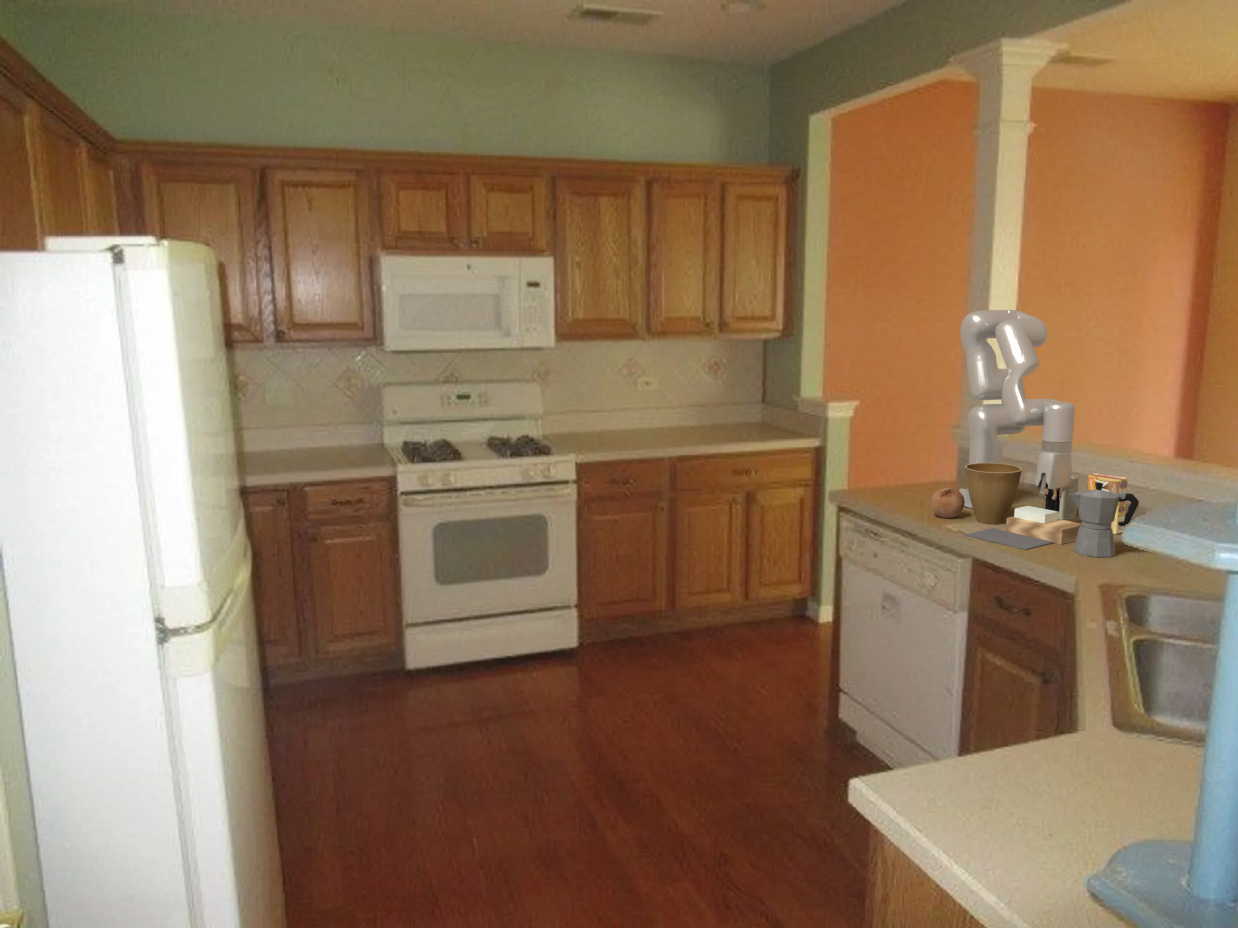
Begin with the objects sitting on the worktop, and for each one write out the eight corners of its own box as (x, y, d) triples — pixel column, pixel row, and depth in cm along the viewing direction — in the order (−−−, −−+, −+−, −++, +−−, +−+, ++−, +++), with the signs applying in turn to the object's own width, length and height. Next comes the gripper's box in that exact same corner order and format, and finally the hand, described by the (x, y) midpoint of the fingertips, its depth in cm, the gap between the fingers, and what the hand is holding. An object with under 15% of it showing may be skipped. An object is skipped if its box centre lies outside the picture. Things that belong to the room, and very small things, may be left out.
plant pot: (957, 515, 263) (960, 462, 261) (1010, 516, 261) (1014, 463, 258) (968, 527, 249) (971, 471, 246) (1024, 528, 246) (1028, 472, 244)
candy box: (1124, 532, 241) (1128, 477, 238) (1115, 535, 238) (1120, 479, 236) (1091, 526, 248) (1096, 472, 245) (1083, 528, 246) (1087, 474, 243)
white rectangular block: (1014, 517, 243) (1014, 508, 243) (1027, 514, 246) (1028, 505, 246) (1044, 523, 236) (1045, 514, 235) (1057, 520, 239) (1058, 511, 238)
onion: (948, 529, 258) (949, 503, 253) (923, 515, 265) (923, 489, 260) (971, 515, 262) (972, 488, 256) (945, 501, 269) (946, 475, 263)
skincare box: (1063, 515, 262) (1066, 474, 259) (1076, 518, 258) (1079, 477, 256) (1048, 517, 259) (1051, 476, 257) (1062, 520, 255) (1065, 479, 253)
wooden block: (1006, 532, 243) (1006, 517, 242) (1028, 527, 248) (1029, 513, 247) (1061, 544, 229) (1062, 529, 229) (1083, 538, 235) (1084, 524, 234)
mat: (965, 535, 240) (965, 534, 240) (993, 529, 246) (993, 528, 246) (1025, 550, 225) (1025, 548, 225) (1053, 542, 231) (1053, 541, 231)
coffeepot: (1066, 555, 219) (1072, 484, 216) (1062, 546, 228) (1067, 477, 225) (1137, 560, 214) (1144, 488, 211) (1130, 550, 223) (1136, 480, 220)
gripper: (1059, 443, 248) (1055, 506, 252) (1027, 448, 241) (1023, 513, 244) (1085, 446, 242) (1080, 511, 245) (1053, 451, 234) (1048, 519, 237)
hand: (1051, 512), depth 244 cm, fingers closed
